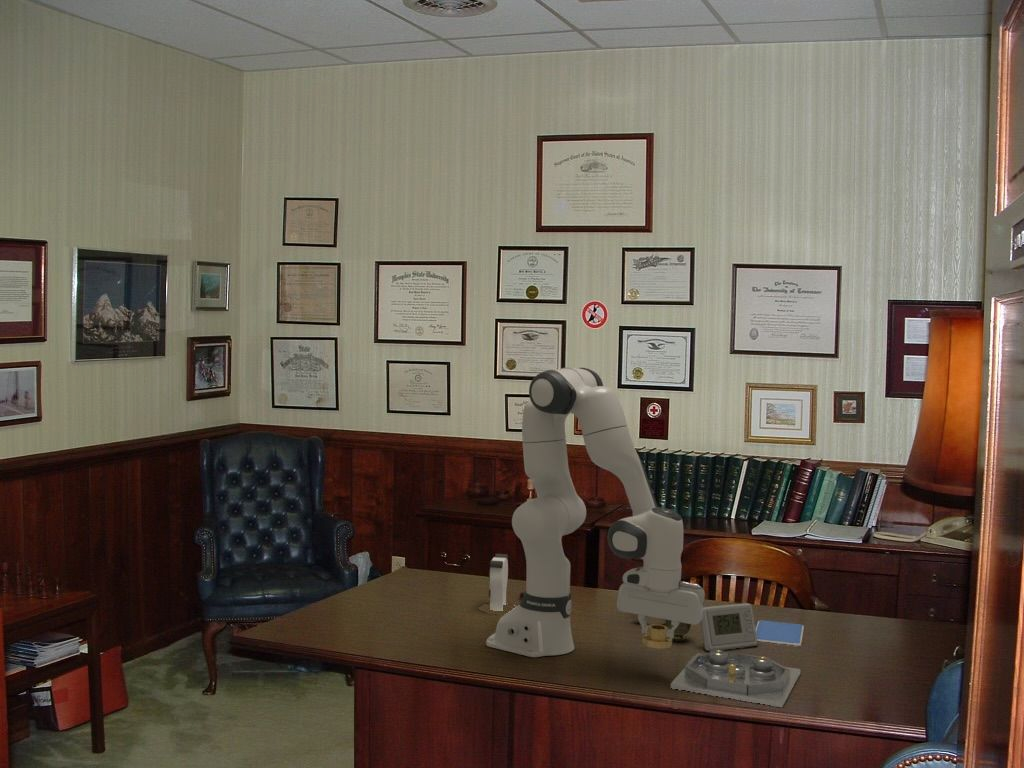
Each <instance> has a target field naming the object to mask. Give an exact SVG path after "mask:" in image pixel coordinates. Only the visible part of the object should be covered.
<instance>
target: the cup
mask: <svg viewBox="0 0 1024 768" xmlns="http://www.w3.org/2000/svg"><path fill="white" fill-rule="evenodd" d="M664 624H665V626H666V627H668V629H670V630H671V629H672V627H673V626H674V625H671V620H666V619H665V623H664ZM691 626H692V624H688V623H682V622H679V625H678V626H677V628H676V629H675V630H674V637H673V639H672V641H674V642H683V641H685V637H686V636H685V635H687V634H688V633H689V632H690V629H691Z"/></svg>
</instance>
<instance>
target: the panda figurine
mask: <svg viewBox="0 0 1024 768" xmlns="http://www.w3.org/2000/svg"><path fill="white" fill-rule="evenodd" d="M508 559H509V554H507V553H495V556H493V558H492V559H491V560H490V562H489V572H488V580H489V581H488V582H489V589H488V598H489V603H490V610H493V611H503V605H506V603H507V586H508V585H507V584H508V576H509V563H508V561H509V560H508Z"/></svg>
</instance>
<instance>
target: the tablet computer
mask: <svg viewBox="0 0 1024 768" xmlns="http://www.w3.org/2000/svg"><path fill="white" fill-rule="evenodd" d="M755 629H756V635H757V641H760V642H759V643H763V642H770V643H769V644H771V643H777V644H776V645H780V644H787V645H786V646H789V645H794V646H793V647H797V646H800V647H801V646H802V644H801V643H803V636H804V630H805V625H803V624H799V623H790V622H779V621H771V620H762V619H761V620H758V621H757V623H756V625H755Z"/></svg>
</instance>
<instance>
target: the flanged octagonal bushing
mask: <svg viewBox="0 0 1024 768" xmlns="http://www.w3.org/2000/svg"><path fill="white" fill-rule="evenodd" d="M667 630H668V627H666V625H664V624H662V625H659V624H653V625H649V626H648V634H643V635H642V641H641V643H642V644H643V645H645V646H646V647H647V648H653V649H658V650H660V649H669V648H670V647H671V646H672V644H673V640H672V639H668V638H666V631H667Z"/></svg>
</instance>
